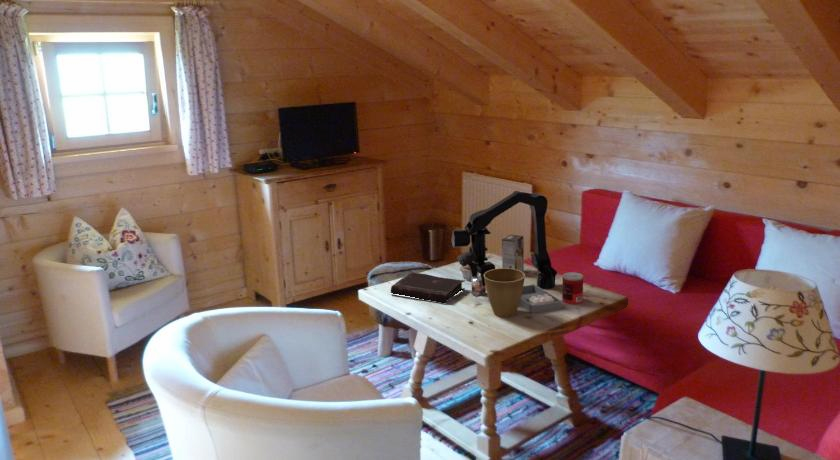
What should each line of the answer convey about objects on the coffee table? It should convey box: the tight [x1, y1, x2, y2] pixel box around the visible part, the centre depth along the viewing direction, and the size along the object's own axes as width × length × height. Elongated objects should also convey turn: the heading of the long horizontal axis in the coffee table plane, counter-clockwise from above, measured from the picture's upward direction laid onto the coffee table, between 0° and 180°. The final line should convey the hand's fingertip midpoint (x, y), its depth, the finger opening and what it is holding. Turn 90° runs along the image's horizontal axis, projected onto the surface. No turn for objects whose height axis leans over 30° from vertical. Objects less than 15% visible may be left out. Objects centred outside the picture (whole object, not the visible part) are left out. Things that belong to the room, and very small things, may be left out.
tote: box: [518, 283, 563, 314], centre depth 255 cm, size 13×21×4 cm, turn 19°
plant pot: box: [484, 267, 526, 318], centre depth 243 cm, size 15×15×16 cm
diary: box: [390, 271, 466, 304], centre depth 271 cm, size 19×25×5 cm
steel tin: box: [471, 275, 487, 298], centre depth 266 cm, size 6×6×7 cm
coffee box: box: [501, 234, 525, 272], centre depth 290 cm, size 9×6×16 cm
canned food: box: [561, 272, 584, 305], centre depth 253 cm, size 8×8×11 cm
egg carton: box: [529, 294, 554, 305], centre depth 249 cm, size 8×5×4 cm, turn 109°
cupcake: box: [459, 265, 480, 281], centre depth 285 cm, size 9×9×10 cm
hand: (478, 282), depth 265 cm, fingers open, 9 cm apart
